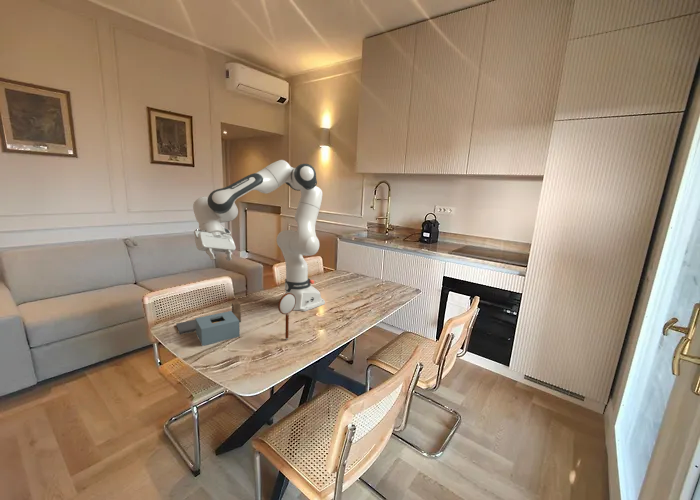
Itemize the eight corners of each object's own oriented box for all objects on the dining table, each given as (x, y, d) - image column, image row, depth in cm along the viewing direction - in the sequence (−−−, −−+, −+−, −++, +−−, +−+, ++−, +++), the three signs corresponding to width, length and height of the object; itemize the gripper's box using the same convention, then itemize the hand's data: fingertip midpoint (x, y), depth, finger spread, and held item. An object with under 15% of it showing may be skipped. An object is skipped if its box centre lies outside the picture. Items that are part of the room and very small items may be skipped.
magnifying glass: (293, 335, 124) (294, 290, 120) (296, 336, 123) (297, 291, 119) (277, 342, 117) (277, 295, 113) (279, 344, 116) (280, 296, 112)
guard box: (231, 325, 129) (231, 310, 128) (239, 336, 121) (239, 320, 119) (196, 334, 121) (195, 318, 119) (202, 346, 112) (201, 329, 111)
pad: (199, 320, 132) (199, 318, 132) (203, 328, 125) (203, 326, 125) (176, 325, 127) (176, 323, 126) (179, 334, 120) (179, 332, 119)
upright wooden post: (238, 319, 135) (238, 301, 133) (240, 322, 133) (240, 303, 131) (232, 321, 134) (231, 302, 132) (234, 323, 131) (233, 304, 129)
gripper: (198, 225, 120) (209, 255, 117) (232, 231, 139) (242, 257, 137) (187, 232, 122) (197, 262, 119) (222, 237, 141) (232, 263, 138)
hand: (221, 259), depth 128 cm, fingers open, 8 cm apart
